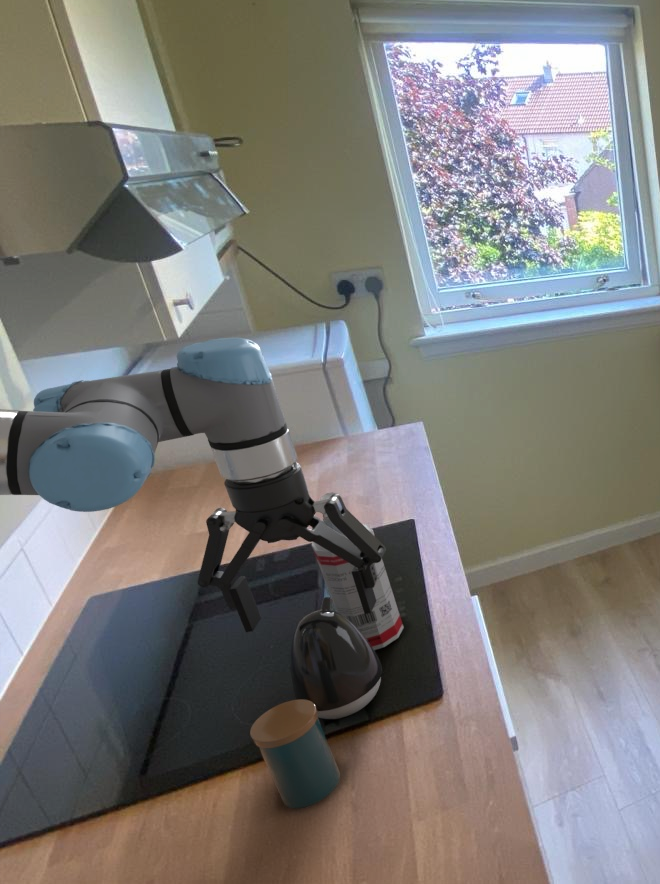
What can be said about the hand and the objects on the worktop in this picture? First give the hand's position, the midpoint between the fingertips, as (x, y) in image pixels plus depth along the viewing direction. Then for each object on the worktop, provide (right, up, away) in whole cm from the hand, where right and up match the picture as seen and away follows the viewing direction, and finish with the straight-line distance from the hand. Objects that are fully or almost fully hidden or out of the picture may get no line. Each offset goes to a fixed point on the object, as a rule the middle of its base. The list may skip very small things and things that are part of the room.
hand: (313, 616), depth 95 cm
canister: (+4, -19, -6) cm, 21 cm away
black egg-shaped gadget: (+1, -14, +6) cm, 15 cm away
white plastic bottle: (-3, -8, +19) cm, 21 cm away
